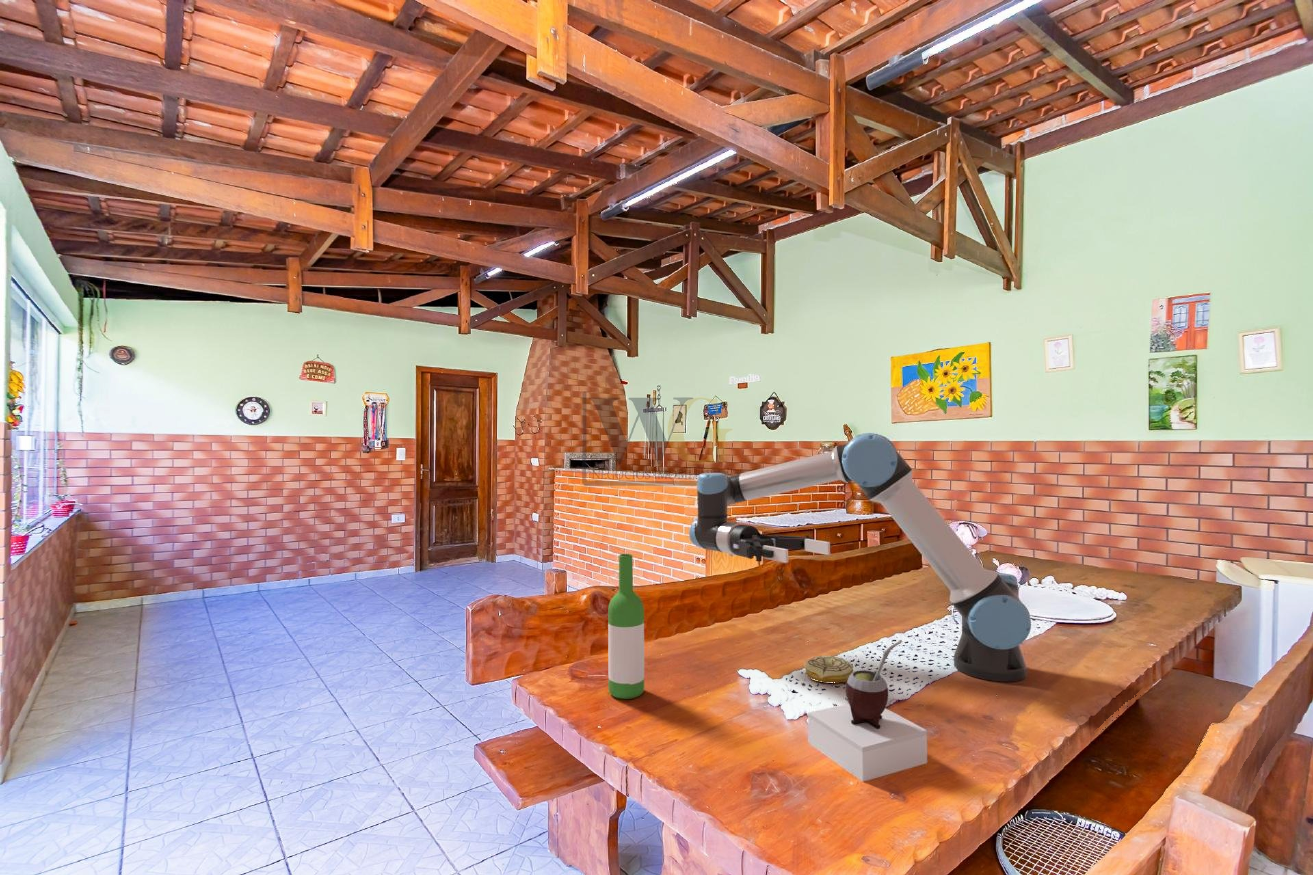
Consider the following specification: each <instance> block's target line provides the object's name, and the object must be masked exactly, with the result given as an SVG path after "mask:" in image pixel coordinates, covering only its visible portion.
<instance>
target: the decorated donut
mask: <svg viewBox="0 0 1313 875" xmlns="http://www.w3.org/2000/svg"><path fill="white" fill-rule="evenodd" d="M804 670H805V672H806V675H808V676H807V677H808V678H809V677H810V678H812V679H815V680H818V681H822V682H833V683H834V682H835V683H838V684H840V683H839V682H845V683H847V682H846V681H848V678H849V676H850V675H851V674H852V673H853V672H854V665H853V664H852V663H851V662H850V661H848V660H845V659H843V658H841V657H838V656H833V655H819V656H815V657H812V658H810V659H808V660H807V661H806V662H805V663H804ZM810 678H809V679H810Z"/></svg>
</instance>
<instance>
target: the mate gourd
mask: <svg viewBox="0 0 1313 875" xmlns="http://www.w3.org/2000/svg"><path fill="white" fill-rule="evenodd" d="M901 643H903V640H902V639H900V640H899V641H897V642H895V643H894V644H891V645H890V646H889V647H888V648H887V649H885V650H884V652H883V653H882V658H881V661H880V663H879V665H878V668H877V670H876V672H875V671H872V670H865V669H864V670H863V669H859V670H855V671H853V673H852V674H851V675H850V676H849V678H848V681H847V682H846V685H845V696H846V699H847V702H848V703H847V704H849V705H850V708H851V713H852V717H853V720H851V723H852V724H853V725H855V724H860V723H865V722H866V723H868V724H870V725H871V726H873V727H874V728H876V729H880V725H879V719H882V715H881V714H882V713H883V711H884V710H885V708H886V709H887V704H888V699H889V690H888V689H889V688H888V684H887V682H886V680H885V679H884V677H883V676H882V675H881V673H882V672H881V671H882V670H883V667H884V665H885V661H886V659H887V658H888V657H889V655H890V652H891V651H892V650H893V649H894V648H895V647H897V646H899V645H900V644H901Z"/></svg>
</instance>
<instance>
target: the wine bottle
mask: <svg viewBox="0 0 1313 875" xmlns="http://www.w3.org/2000/svg"><path fill="white" fill-rule="evenodd" d="M633 568H634V567H633V555H632V554H631V553H620V554H619V556H618V592H617V593H615V594H614V596H613V597H612V598H611V599H610V601H609V604H608V611H607V612H608V614H607V616H608V617H607V618H608V620H607V621H608V622H607V624H608V625H607V628H608V629H607V630H608V631H607V632H608V633H607V635H608V636H607V638H608V639H607V640H608V641H607V642H608V643H607V644H608V650H607V652H608V653H607V654H608V658H607V660H608V661H607V662H608V668H607V669H608V691H609V693H610V695H611V696H612V697H613V698H616V699H620V700H631V699H634V698H637V697H640V696H641V695H642V694H643V692H644V689H645V622H644V621H645V618H644V616H645V613H644V612H645V609H644V604H643V601H642V599H641V598H640V596H639V595H638V594H637V593H636V592H635V591H634V586H633V585H634V575H633V571H634V570H633Z"/></svg>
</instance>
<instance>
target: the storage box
mask: <svg viewBox="0 0 1313 875" xmlns="http://www.w3.org/2000/svg"><path fill="white" fill-rule="evenodd" d="M807 714H808V715H807V717H808V718H807V719H808V721H807V723H808V725H807V726H808V730H807V731H808V734H807V737H808V738H807V740H808V744H809V745H811V746H812V747H813V748H815V749H816V750H818V751H819V752H821V753H822V754H823V755H825V756H826V757H827V758H829V759H830V760H831V761H833V762H834V763H835V764H837V765H838V766H840V767H841V768H843V769H844V770H845V771H847V772H848V773H850V775H853V776H854V777H855V778H857V780H859V781H861V782H862V783H863V782H866V781H870V780H873V779H874V780H875V779H876V778H881V777H883V776H887V775H891V774H895V773H899V772H901V771H905V770H909V769H911V768H912V769H913V768H914V767H919V766H922V765H926V764H928V731H927V729H925V728H923V727H921V726H920V725H918V724H916V723H914V722H912V721H910V720H908V719H906V718H904V717H902V716H901V715H899V714H897V713H895V712H893V711H891V710H889V709H887V707H886V708H885V710H884V711H883V713H882V714H881V715H882V719H879V725H880V729H876V728H874V727H873V726H871V725H870V724H868V723H866V722H865V723H860V724H855V725H853V724H852V723H851V720H853V717H852V713H851V708H850V705H849V703H845V704H840V705H836V706H831V707H827V708H823V709H819V710H815V711H810V712H807Z"/></svg>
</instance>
